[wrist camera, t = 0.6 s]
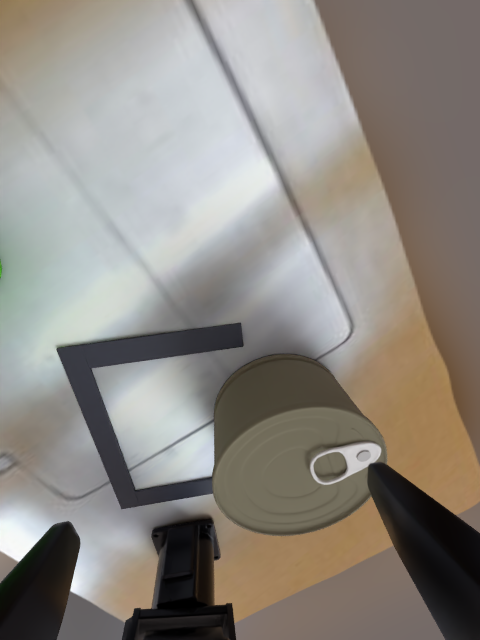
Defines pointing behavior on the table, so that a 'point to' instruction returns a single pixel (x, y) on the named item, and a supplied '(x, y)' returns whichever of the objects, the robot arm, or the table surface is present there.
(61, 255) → the table surface
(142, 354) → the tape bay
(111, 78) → the table surface
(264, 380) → the can
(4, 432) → the table surface
